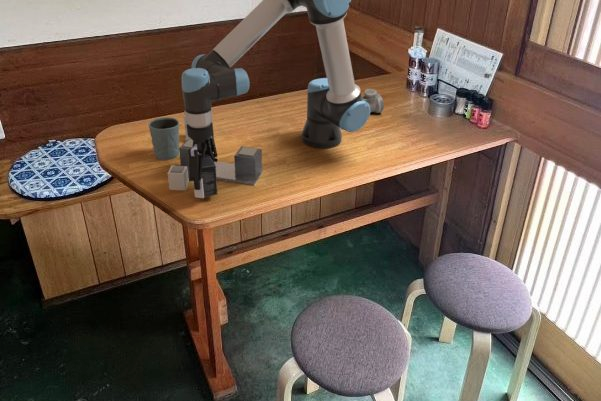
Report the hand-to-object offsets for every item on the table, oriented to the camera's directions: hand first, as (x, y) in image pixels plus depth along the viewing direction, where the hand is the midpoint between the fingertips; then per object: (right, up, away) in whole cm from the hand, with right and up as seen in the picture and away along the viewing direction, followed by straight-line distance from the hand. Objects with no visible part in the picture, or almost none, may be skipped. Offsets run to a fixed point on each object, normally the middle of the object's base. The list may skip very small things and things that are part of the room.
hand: (205, 188), depth 173 cm
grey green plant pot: (-18, +13, +23) cm, 32 cm away
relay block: (-9, +1, +5) cm, 11 cm away
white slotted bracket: (-10, +19, +34) cm, 41 cm away
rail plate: (+3, +6, +13) cm, 15 cm away
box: (0, -1, 0) cm, 1 cm away
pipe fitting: (+57, +32, +58) cm, 87 cm away
